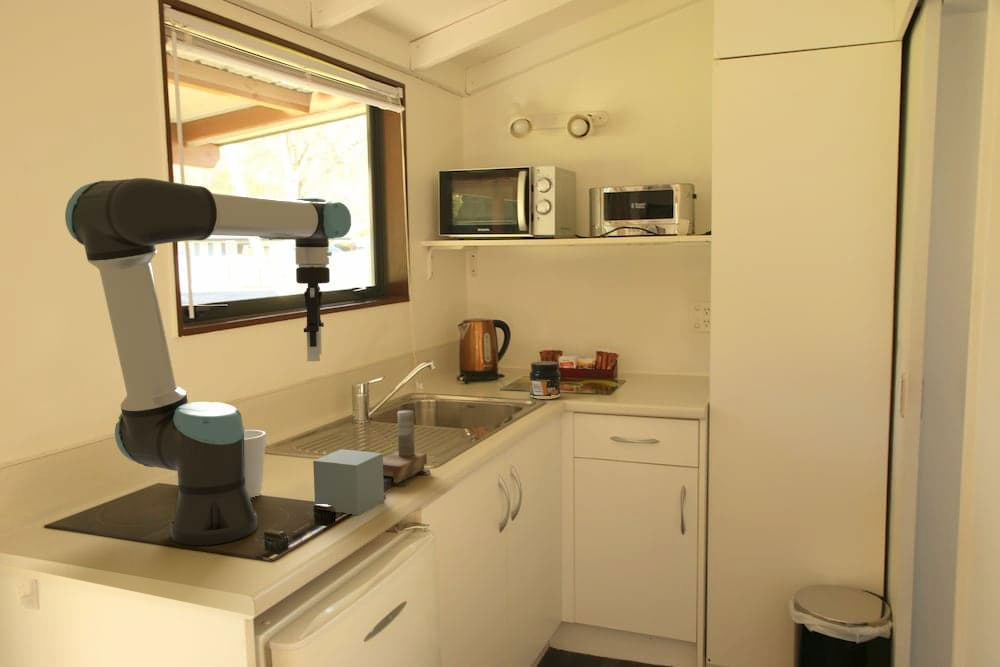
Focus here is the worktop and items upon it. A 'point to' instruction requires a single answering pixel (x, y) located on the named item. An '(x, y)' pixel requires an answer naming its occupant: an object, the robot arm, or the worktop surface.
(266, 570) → the worktop surface
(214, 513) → the robot arm
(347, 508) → the grey box
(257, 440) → the foam cup
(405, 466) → the grey peg on base
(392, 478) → the rail
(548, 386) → the supplement container
